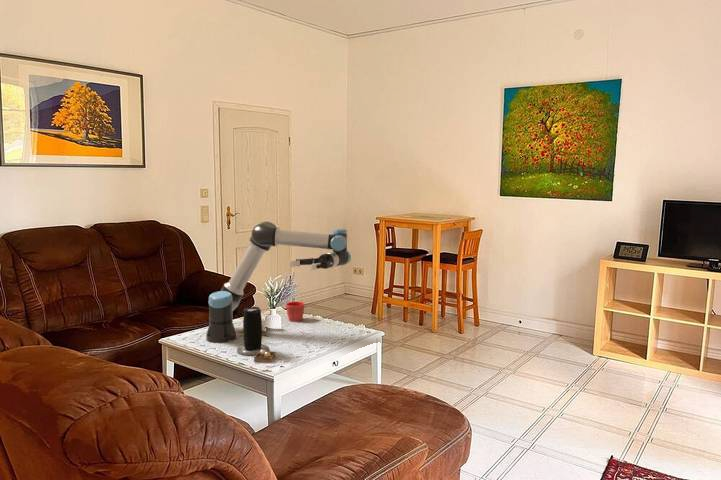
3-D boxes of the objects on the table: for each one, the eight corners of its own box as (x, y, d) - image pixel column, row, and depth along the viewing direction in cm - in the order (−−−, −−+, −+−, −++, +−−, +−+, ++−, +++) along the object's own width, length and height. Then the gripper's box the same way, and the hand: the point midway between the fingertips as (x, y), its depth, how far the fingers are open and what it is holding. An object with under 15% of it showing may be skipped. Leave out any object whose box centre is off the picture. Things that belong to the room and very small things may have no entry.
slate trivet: (242, 345, 272) (242, 343, 272) (272, 346, 271) (272, 344, 271) (232, 355, 258) (232, 352, 257) (264, 356, 256) (263, 354, 256)
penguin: (251, 337, 297) (277, 326, 297) (245, 322, 296) (271, 312, 296) (253, 332, 306) (278, 322, 306) (247, 318, 304) (272, 308, 305)
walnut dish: (259, 355, 257) (258, 351, 257) (275, 356, 256) (275, 352, 256) (254, 361, 249) (254, 357, 249) (271, 362, 248) (271, 357, 248)
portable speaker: (254, 344, 270) (254, 305, 268) (265, 348, 264) (265, 308, 262) (239, 348, 265) (239, 308, 262) (250, 352, 258) (250, 311, 256)
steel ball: (260, 354, 256) (260, 348, 255) (267, 354, 255) (267, 348, 255) (258, 356, 253) (258, 350, 252) (265, 356, 252) (265, 350, 252)
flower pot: (297, 323, 313) (297, 306, 312) (282, 320, 319) (282, 304, 318) (308, 319, 323) (308, 303, 321) (293, 316, 328) (293, 300, 327)
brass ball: (265, 357, 252) (264, 350, 252) (271, 357, 252) (271, 351, 252) (263, 359, 249) (263, 352, 249) (269, 359, 249) (269, 353, 249)
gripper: (347, 270, 278) (320, 276, 261) (310, 265, 292) (282, 270, 275) (347, 255, 277) (320, 260, 260) (309, 251, 291) (281, 255, 274)
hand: (300, 265), depth 267 cm, fingers open, 13 cm apart
